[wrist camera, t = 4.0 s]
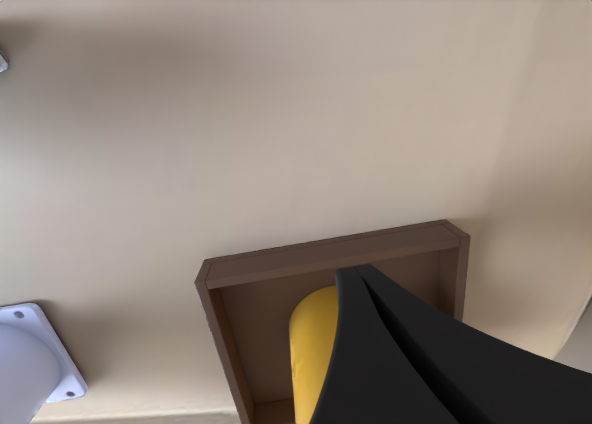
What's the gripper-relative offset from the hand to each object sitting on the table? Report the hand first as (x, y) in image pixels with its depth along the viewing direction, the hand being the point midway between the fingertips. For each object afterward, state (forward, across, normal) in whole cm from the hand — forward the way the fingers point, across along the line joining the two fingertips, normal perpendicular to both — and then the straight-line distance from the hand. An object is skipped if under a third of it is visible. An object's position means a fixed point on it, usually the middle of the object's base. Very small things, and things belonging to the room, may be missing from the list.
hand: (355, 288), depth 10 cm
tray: (+7, 0, +8) cm, 10 cm away
